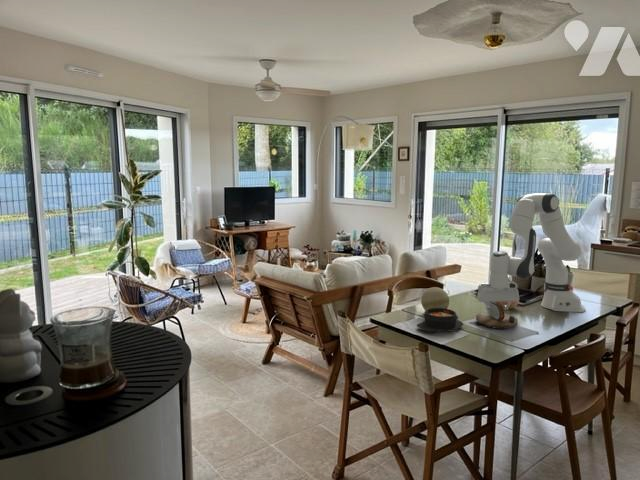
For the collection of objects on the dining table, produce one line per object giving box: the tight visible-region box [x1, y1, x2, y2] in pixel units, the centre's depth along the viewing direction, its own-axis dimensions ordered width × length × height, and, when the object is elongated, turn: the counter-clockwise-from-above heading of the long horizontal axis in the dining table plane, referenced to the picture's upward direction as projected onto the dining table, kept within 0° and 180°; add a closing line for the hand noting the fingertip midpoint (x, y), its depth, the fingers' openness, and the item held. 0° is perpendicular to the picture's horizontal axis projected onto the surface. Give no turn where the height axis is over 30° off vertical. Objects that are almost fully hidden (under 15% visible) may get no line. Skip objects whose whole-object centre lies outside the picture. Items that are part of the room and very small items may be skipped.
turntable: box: [475, 311, 518, 328], centre depth 247 cm, size 20×20×4 cm
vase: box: [498, 276, 520, 310], centre depth 273 cm, size 14×14×18 cm
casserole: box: [416, 308, 464, 333], centre depth 241 cm, size 25×19×8 cm
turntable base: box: [487, 325, 508, 329], centre depth 247 cm, size 14×14×2 cm
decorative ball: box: [420, 286, 450, 311], centre depth 262 cm, size 15×15×15 cm
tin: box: [486, 302, 506, 320], centre depth 246 cm, size 15×3×8 cm, turn 7°
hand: (497, 309), depth 246 cm, fingers open, 8 cm apart
